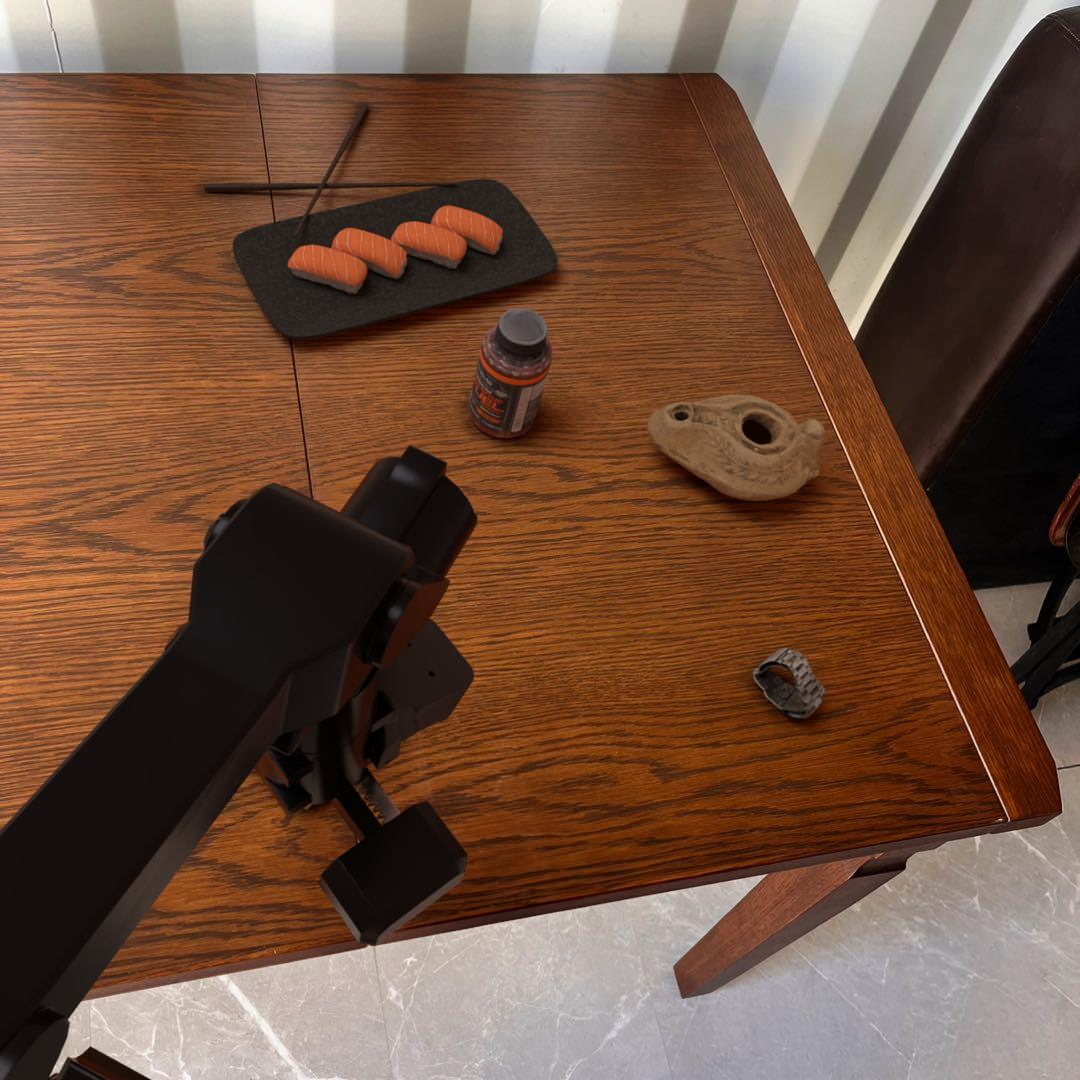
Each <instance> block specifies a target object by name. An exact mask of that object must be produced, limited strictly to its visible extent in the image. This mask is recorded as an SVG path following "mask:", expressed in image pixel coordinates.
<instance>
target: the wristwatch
mask: <svg viewBox="0 0 1080 1080" xmlns="http://www.w3.org/2000/svg"><path fill="white" fill-rule="evenodd" d="M770 667H771V668H773V667H777V668H782V669H784V670H787V671H788V672H790V674H791V676H792V678H793V681H794V684H795V686H793V685H791V684H789V683H787V682H785V681H783V680H782V678H781V677H780V676H779V675H778V674H777V673H775V672H774V671H772V670H770ZM752 675H753V676H752V677H753V678H752V679H753V681H754V682H755V684H757V686H758V688H760V689H761V690H762V691H763V692H762V694H763V696H764V697H765V698H766V700H768V701H769V702H770V703H771V704H772V705H773V706H774V707H775V708H777V709H778V710H779V711H780V713H782V714H783V715H785V716H787V717H789V718H791V719H792V718H793V719H799V720H800V719H808V718H809V717H811V715H812V714H814V712H815V711H817V709H818V708H819V706H820V705H821V704H822V702H823V700H824V699H825V696H826V694H825V692H826V690H825V687H824V683H822V682H821V681H820V680H818V679H817V677H816V676H815V674H814V673H813V669H812V667H811V666H810V663H809V661H808V660H807V659H806V657H805V656H804V655H803V654H802V653H801V652H800V651H798V650H796V651H795V650H793V649H790V648H789V647H784V648H779V649H777V650H776V651H774V652H773V653H772V654H770V655H769V656H768V657H767V658H766V659H765V660H763V661H762V662H761V663H760V664H759V665H758V666H757V667H756V668H755V669H754V670H753V671H752Z"/></svg>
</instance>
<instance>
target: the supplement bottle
mask: <svg viewBox="0 0 1080 1080" xmlns="http://www.w3.org/2000/svg"><path fill="white" fill-rule="evenodd" d="M547 336H548V326H547V323H546V321H545V319H544V317H542V316H541V315H540V314H539V313H537V312H536V311H533V310H531V309H529V308H525V307H523V308H521V307H516V308H511V309H508V310H506V311H505V312H504V313H502V314H501V315H500V317H499V319H498V323H497V324H496V325H493V326H492V327H491V328H490V329H489V330H488V331H487V332H486V333H485V335H484V336H483V339H482V341H481V343H480V344H481V345H480V349H479V354H478V358H477V362H476V368H475V373H474V377H473V381H472V387H471V392H470V397H469V404H468V412H469V416H470V419H471V421H472V422H473V424H474V425H475V426H476V427H477V429H479V431H481V432H483V433H485V434H486V435H489V436H490V437H493V438H498V439H512V438H517V437H520V436H522V435H524V434H526V432H528V431H529V430H530V429H531V428H532V426H533V424H534V422H535V419H536V416H537V413H538V410H539V406H540V402H541V400H542V396H543V392H544V389H545V385H546V383H547V379H548V375H549V372H550V368H551V365H552V360H553V347H552V345H551V342H550V340H549V339H548V337H547Z"/></svg>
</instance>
